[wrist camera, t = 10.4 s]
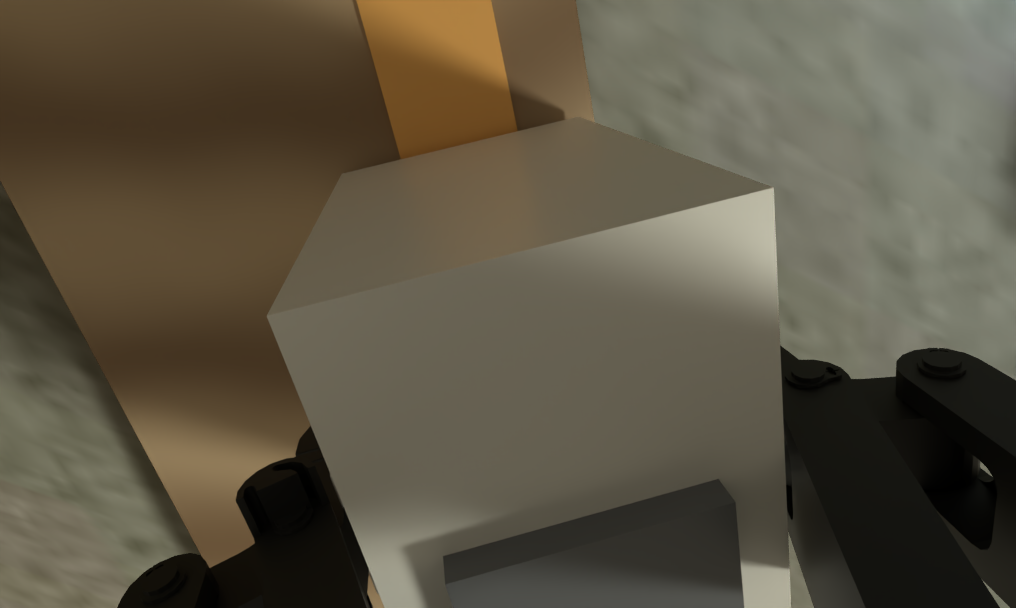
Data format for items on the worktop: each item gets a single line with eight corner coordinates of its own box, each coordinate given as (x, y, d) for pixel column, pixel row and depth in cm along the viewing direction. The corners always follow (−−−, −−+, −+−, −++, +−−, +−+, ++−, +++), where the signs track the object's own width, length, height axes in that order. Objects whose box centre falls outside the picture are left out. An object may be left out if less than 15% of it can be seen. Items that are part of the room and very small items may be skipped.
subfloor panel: (-153, -200, 13) (-226, -234, 11) (506, -331, 14) (518, -378, 12) (295, 678, 23) (287, 720, 22) (654, 574, 24) (670, 607, 23)
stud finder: (341, 173, 15) (257, 334, 7) (578, 116, 16) (798, 196, 7) (443, 492, 19) (475, 859, 10) (630, 441, 20) (812, 754, 11)
